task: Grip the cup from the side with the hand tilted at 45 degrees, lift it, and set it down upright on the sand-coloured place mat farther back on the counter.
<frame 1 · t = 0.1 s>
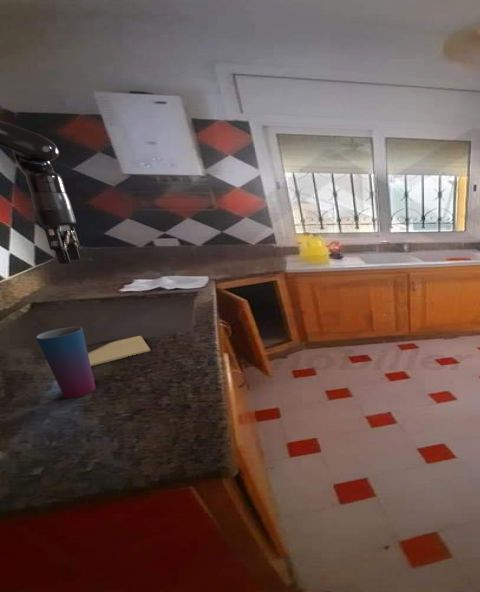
hand: (70, 261, 99), 25 cm above the counter, tool pointing down, fingers open, 8 cm apart
cup: (80, 393, 73), on the counter
mat: (110, 352, 94), on the counter
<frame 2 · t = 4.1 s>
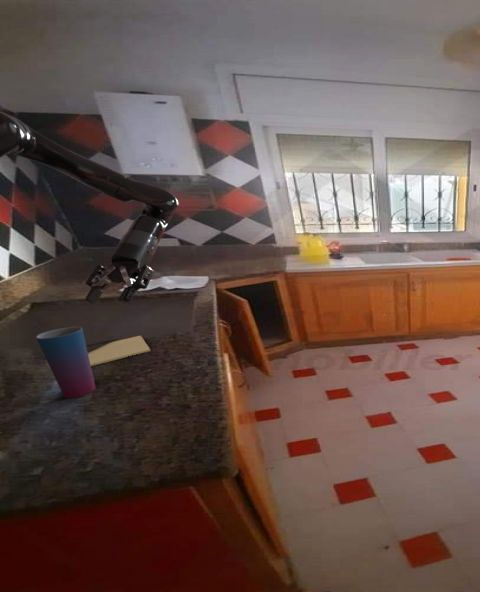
hand: (106, 302, 79), 19 cm above the counter, tool tilted 45°, fingers open, 8 cm apart
nothing on the counter moved.
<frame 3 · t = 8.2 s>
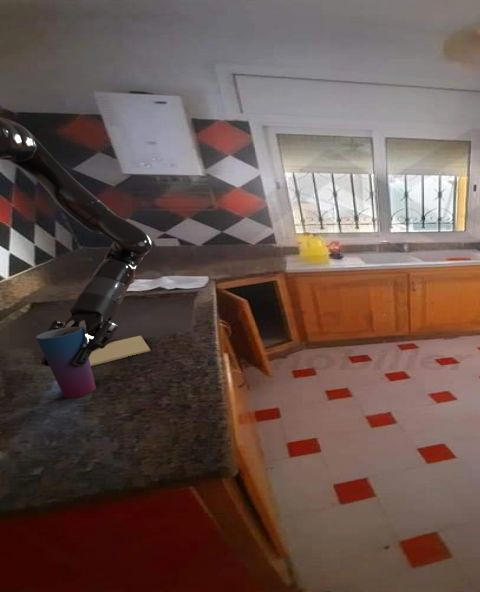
hand: (61, 365, 69), 8 cm above the counter, tool tilted 45°, fingers closed on cup, 6 cm apart
cup: (80, 392, 73), on the counter, touching gripper
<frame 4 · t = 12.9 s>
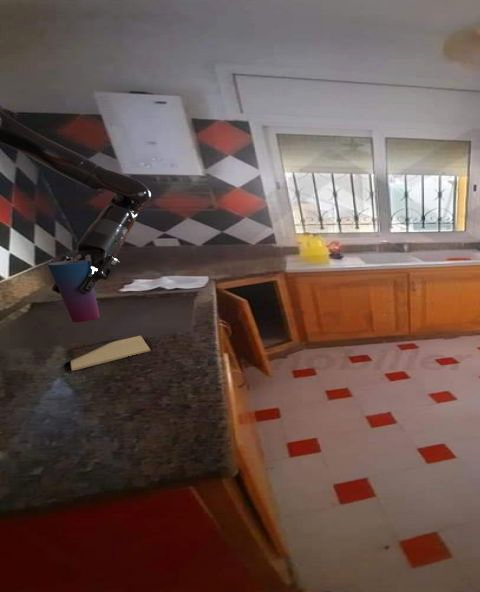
hand: (70, 291, 79), 21 cm above the counter, tool tilted 45°, fingers closed on cup, 6 cm apart
cup: (86, 319, 82), point 13 cm above the counter, touching gripper
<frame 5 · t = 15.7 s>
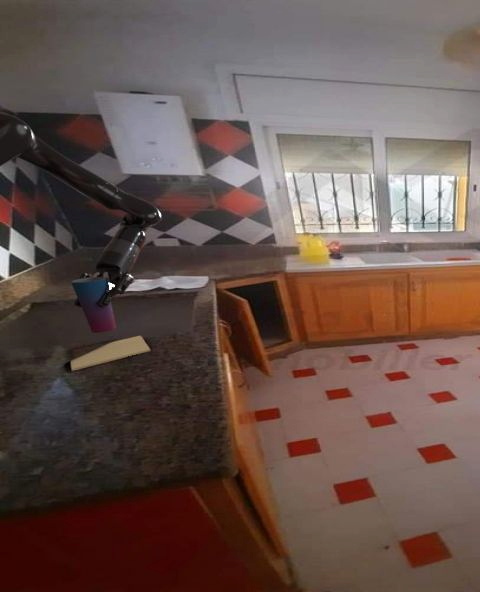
hand: (90, 306, 88), 15 cm above the counter, tool tilted 45°, fingers closed on cup, 6 cm apart
cup: (104, 330, 92), point 7 cm above the counter, touching gripper
when the fingers open (8 cm above the counter, at t = 18.0 s): cup stays where it is, resting on mat.
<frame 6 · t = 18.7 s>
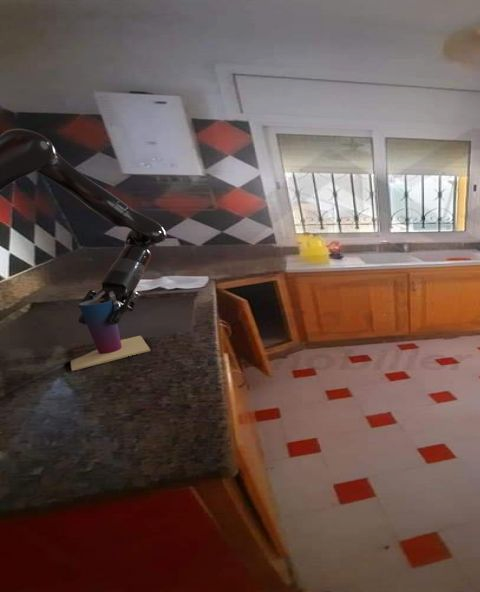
hand: (97, 323, 90), 10 cm above the counter, tool tilted 45°, fingers open, 8 cm apart
cup: (110, 350, 94), resting on mat
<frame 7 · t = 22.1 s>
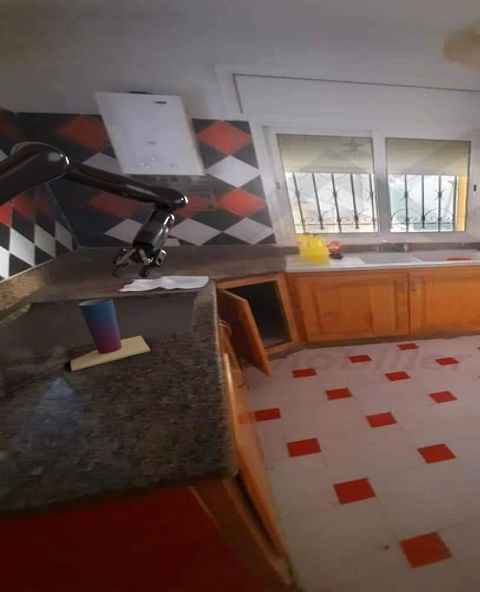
hand: (129, 276, 99), 20 cm above the counter, tool tilted 45°, fingers open, 8 cm apart
nothing on the counter moved.
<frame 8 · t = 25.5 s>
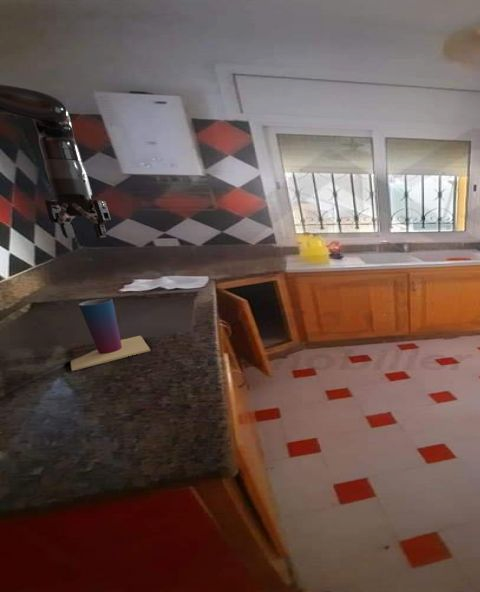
hand: (86, 237, 91), 33 cm above the counter, tool pointing down, fingers open, 8 cm apart
nothing on the counter moved.
at the end: cup inside the target area on the mat (0.2 cm from its centre), point 0.4 cm above the mat's base; cup tilted 0°; the gripper is holding nothing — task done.
